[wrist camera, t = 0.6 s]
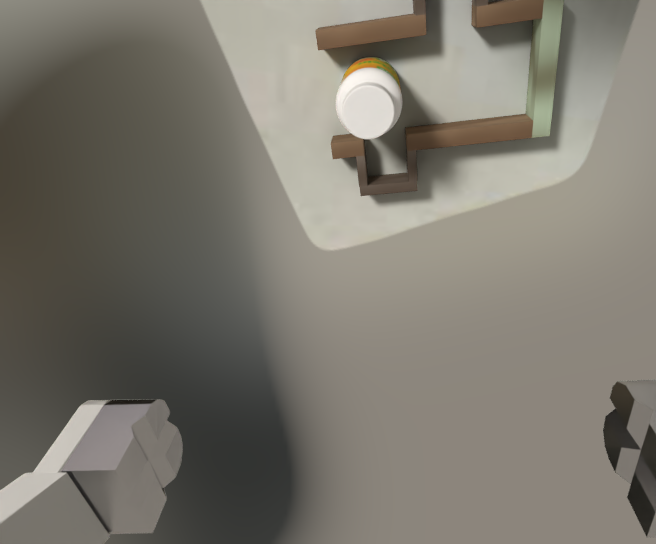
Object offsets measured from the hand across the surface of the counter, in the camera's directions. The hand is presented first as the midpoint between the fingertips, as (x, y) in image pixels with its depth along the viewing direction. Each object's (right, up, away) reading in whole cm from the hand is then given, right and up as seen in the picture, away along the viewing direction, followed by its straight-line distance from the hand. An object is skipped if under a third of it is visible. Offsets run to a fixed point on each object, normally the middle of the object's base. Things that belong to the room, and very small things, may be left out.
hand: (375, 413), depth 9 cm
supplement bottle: (+3, +20, +35) cm, 40 cm away
